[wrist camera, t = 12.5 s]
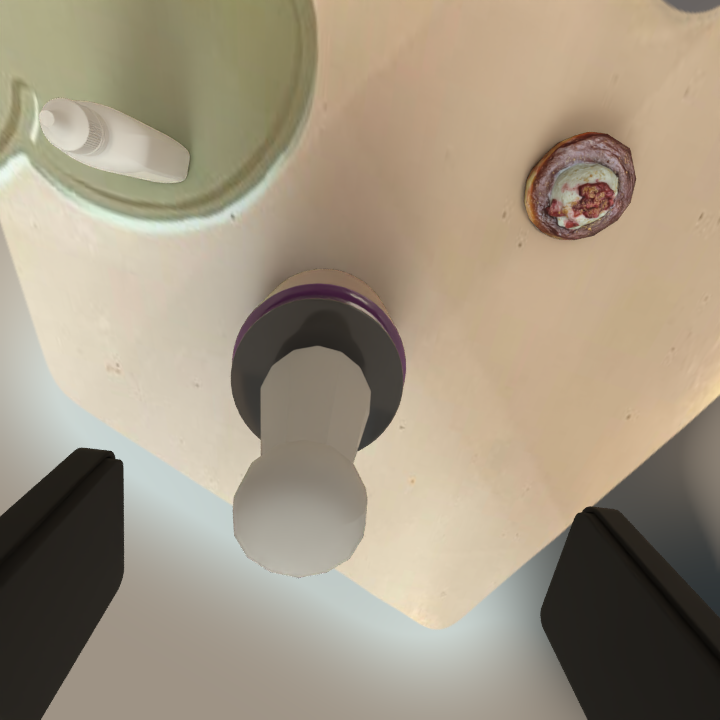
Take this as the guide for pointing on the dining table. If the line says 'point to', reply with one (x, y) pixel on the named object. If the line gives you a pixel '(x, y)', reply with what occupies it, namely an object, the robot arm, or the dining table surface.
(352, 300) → the jar
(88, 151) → the eye dropper bottle
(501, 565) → the dining table surface
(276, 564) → the salt shaker
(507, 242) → the dining table surface
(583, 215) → the pastry
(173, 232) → the dining table surface
